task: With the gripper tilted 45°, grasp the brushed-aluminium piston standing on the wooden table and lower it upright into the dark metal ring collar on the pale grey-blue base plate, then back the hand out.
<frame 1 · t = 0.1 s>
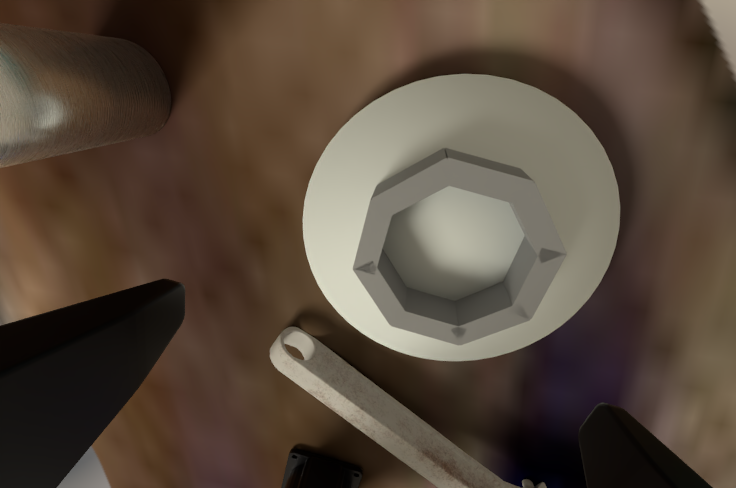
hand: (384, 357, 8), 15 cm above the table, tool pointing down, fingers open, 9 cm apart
ring block: (449, 231, 22), on the table
piston: (128, 90, 21), on the table
wrench: (443, 425, 29), on the table
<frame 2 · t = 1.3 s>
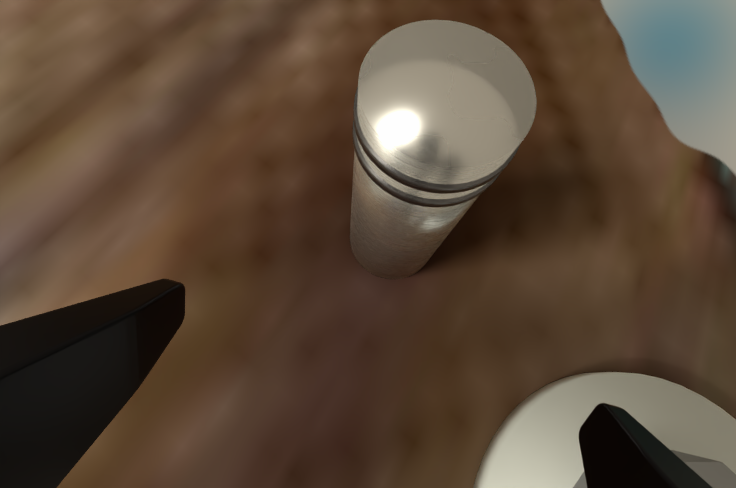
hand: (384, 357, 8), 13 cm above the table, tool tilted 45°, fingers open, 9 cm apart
piston: (391, 238, 23), on the table
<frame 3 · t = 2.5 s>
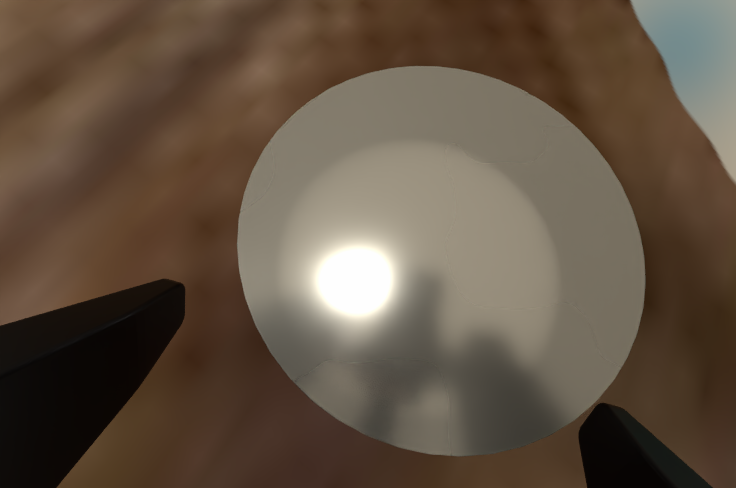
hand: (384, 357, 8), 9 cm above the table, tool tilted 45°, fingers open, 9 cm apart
piston: (370, 331, 17), on the table
when the fingers open (10 cm above the table, at t = 7.7 s): piston drops 1 cm, resting on ring block.
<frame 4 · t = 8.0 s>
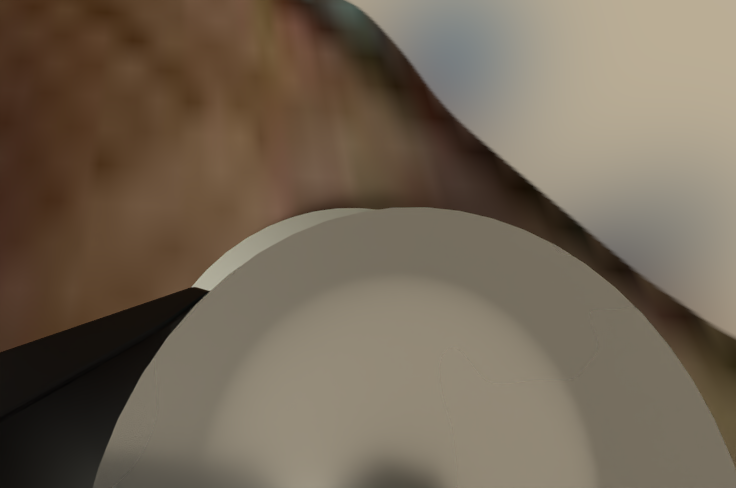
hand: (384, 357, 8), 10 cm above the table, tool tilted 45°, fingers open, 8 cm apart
ring block: (353, 394, 17), on the table
piston: (353, 398, 15), point 2 cm above the table, touching ring block
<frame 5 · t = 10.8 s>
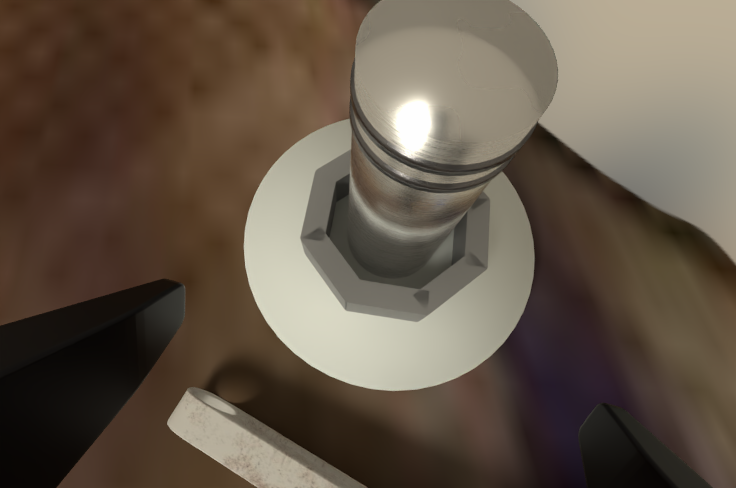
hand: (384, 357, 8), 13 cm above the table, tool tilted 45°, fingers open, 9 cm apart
ring block: (389, 243, 23), on the table
piston: (391, 235, 22), point 2 cm above the table, touching ring block
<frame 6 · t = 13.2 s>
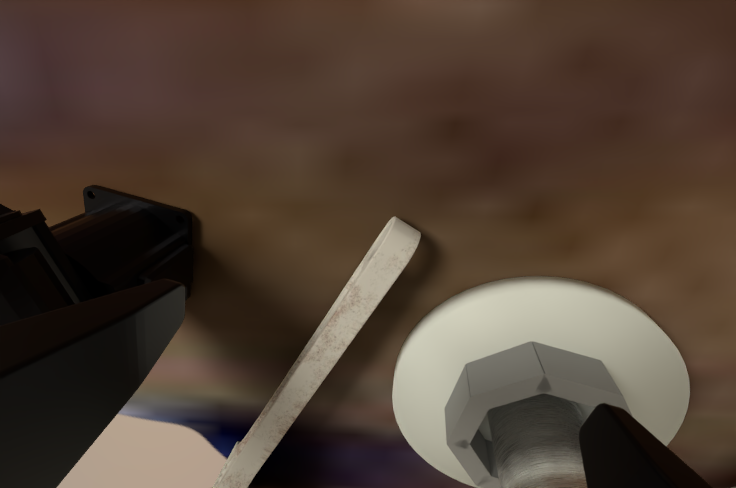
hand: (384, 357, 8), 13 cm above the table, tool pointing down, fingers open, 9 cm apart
ring block: (524, 389, 24), on the table
piston: (529, 407, 23), point 2 cm above the table, touching ring block
wrench: (295, 374, 27), on the table
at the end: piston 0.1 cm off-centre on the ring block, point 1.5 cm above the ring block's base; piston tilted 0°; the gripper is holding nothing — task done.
